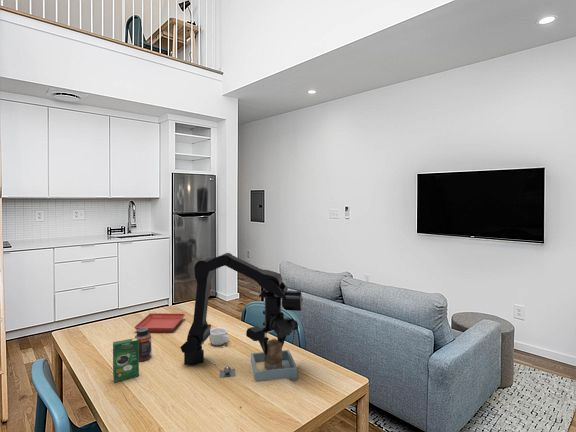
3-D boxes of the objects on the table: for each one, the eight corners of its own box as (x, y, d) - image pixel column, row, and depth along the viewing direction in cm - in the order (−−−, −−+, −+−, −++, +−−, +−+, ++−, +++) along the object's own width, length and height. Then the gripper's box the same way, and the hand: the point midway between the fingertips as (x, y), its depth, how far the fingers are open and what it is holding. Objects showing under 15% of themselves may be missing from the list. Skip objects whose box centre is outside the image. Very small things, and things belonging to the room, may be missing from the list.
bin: (255, 384, 119) (255, 372, 119) (250, 363, 133) (250, 353, 133) (297, 379, 122) (297, 368, 122) (288, 359, 136) (288, 349, 136)
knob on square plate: (219, 380, 121) (219, 371, 121) (219, 372, 127) (219, 363, 126) (235, 379, 122) (235, 369, 122) (234, 371, 128) (234, 362, 127)
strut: (271, 374, 125) (271, 346, 124) (264, 368, 128) (264, 341, 127) (281, 370, 127) (281, 342, 126) (274, 365, 131) (274, 338, 130)
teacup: (205, 344, 150) (204, 331, 150) (218, 338, 157) (218, 326, 156) (221, 350, 144) (221, 337, 144) (235, 343, 151) (235, 331, 150)
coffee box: (138, 372, 127) (137, 336, 126) (140, 376, 124) (138, 339, 124) (113, 379, 122) (111, 341, 122) (114, 382, 120) (113, 344, 119)
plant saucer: (173, 334, 161) (173, 327, 161) (133, 334, 162) (133, 327, 161) (185, 319, 179) (185, 313, 179) (149, 319, 180) (149, 313, 179)
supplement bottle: (155, 356, 139) (154, 327, 138) (143, 363, 134) (142, 333, 133) (143, 353, 142) (143, 325, 141) (131, 359, 136) (130, 330, 135)
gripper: (263, 321, 114) (263, 369, 115) (308, 310, 125) (307, 353, 126) (245, 312, 123) (245, 356, 124) (288, 302, 134) (288, 342, 135)
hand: (272, 352), depth 127 cm, fingers open, 6 cm apart
